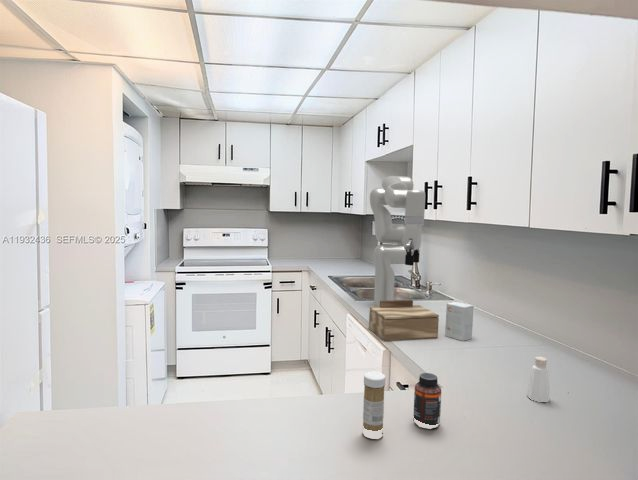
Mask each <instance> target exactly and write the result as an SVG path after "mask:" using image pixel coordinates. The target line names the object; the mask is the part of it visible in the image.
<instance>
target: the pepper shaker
mask: <svg viewBox="0 0 638 480" xmlns="http://www.w3.org/2000/svg"><path fill="white" fill-rule="evenodd" d="M547 361H548V359H547V358H546V357H544V356H535V357H534V363H535V364H533V365H532V367H531V372H530V377H529V382H528V387H527V393H526V397H527V396H528V397H529V398H530V399H531V400H530V399H529V398H528V397H527V398H528V399H529V400H530V401H533V400H534V401H533V402H536V401H537V402H536V403H539V402H547V403H548V402H550V398H551V397H550V375H549V374H550V373H549V368H548V367H547Z"/></svg>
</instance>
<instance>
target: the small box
mask: <svg viewBox="0 0 638 480" xmlns="http://www.w3.org/2000/svg"><path fill="white" fill-rule="evenodd" d="M445 311H446V312H445V313H446V314H445V332H444V335H445V337H448V338H452V339H455V340H459V341H461V342H462V341H463V342H465V341H467V340H470V339H472V338H473V326H474V323H473V321H474V320H473V319H474V305H473V304H467V303H465V302H458V301H453V302H447V303H446V310H445Z"/></svg>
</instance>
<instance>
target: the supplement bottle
mask: <svg viewBox="0 0 638 480" xmlns="http://www.w3.org/2000/svg"><path fill="white" fill-rule="evenodd" d="M413 393H414V394H413V395H414V396H413V416H414V418H415V419H416V420H418V421H420V422H422V423H425V424H429V425H436V424H439V423H441V406H442V388H441V386H440V384H438V376H437V375H436V374H433V373H431V372H423V373H420V374H419V379H418V382H417V383H415V384H414V392H413ZM414 418H413V419H414Z"/></svg>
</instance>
